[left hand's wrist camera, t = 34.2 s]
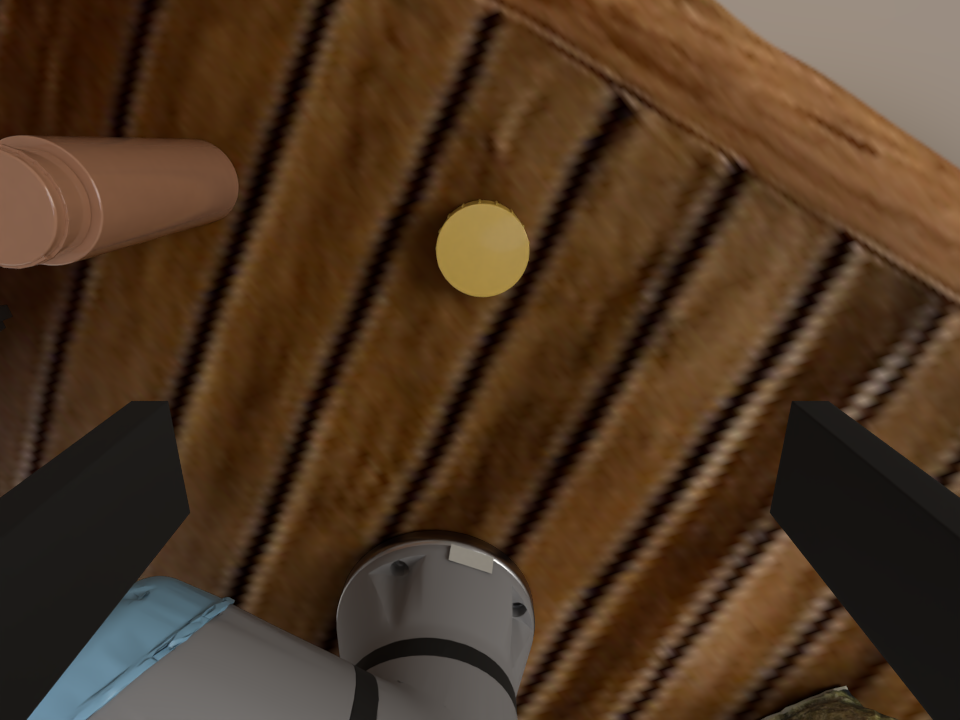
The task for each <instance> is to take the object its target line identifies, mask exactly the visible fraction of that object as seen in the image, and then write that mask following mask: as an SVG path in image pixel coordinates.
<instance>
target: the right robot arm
mask: <svg viewBox="0 0 960 720" xmlns="http://www.w3.org/2000/svg"><path fill="white" fill-rule="evenodd" d="M11 317H13V316H12V314H11V312H10V310H9V308H8V306H7V305H1V306H0V331H2V330H3V329H5V328H6V327H5V325H4V323H3V320H5V319H8V318H11Z"/></svg>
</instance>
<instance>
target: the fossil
mask: <svg viewBox="0 0 960 720" xmlns="http://www.w3.org/2000/svg"><path fill="white" fill-rule="evenodd" d="M762 720H897V719H895V718H892V717H889V716H886V715H883V714H881V713H878V712H877V711H875V710H872V709H868V708H865V707H863V706H862V705H861V704H860V702H859V701H858V700H857V699H856V698H854V697H853V696H852V695H851V694H850V692H849V690H848V688H847V687H846V686H843V687H839V688H835V689H831V690H827V691H825V692H823V693H821V694H818V695H816V696H813V697H810V698H808V699H805V700H803V701H801V702H798V703H796V704H794V705H791V706H788V707H785V708H784V709H783V710H782V711H781V712H779V713H776V714H773V715H770V716H767V717H765V718H763V719H762Z"/></svg>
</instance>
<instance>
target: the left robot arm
mask: <svg viewBox="0 0 960 720" xmlns="http://www.w3.org/2000/svg"><path fill="white" fill-rule="evenodd" d="M189 513H190V510H189V505H188V500H187V495H186V490H185V485H184V480H183V475H182V470H181V464H180V459H179V454H178V449H177V444H176V439H175V434H174V429H173V424H172V419H171V414H170V409H169V404H168V401H131V402H130V403H128V404H127V405H126V406H124V407H123V408H122V409H120V410H119V411H118V412H116V413H115V414H113V415H112V416H111V417H109V418H108V419H107V420H105V421H104V422H103V423H101V424H100V425H99V426H97V427H96V428H94V429H93V430H92V431H90V432H89V433H88V434H86V435H85V436H84V437H82V438H81V439H79V440H78V441H77V442H75V443H74V444H73V445H71V446H70V447H69V448H67V449H66V450H65V451H63V452H62V453H60V454H59V455H58V456H56V457H55V458H54V459H52V460H51V461H50V462H48V463H47V464H45V465H44V466H43V467H41V468H40V469H39V470H37V471H36V472H35V473H33V474H32V475H31V476H29V477H28V478H26V479H25V480H24V481H22V482H21V483H20V484H18V485H17V486H16V487H14V488H13V489H12V490H10V491H9V492H7V493H6V494H5V495H3V496H2V497H1V498H0V720H517V709H516V695H517V692H518V688H519V685H520V682H521V679H522V675H523V672H524V669H525V665H526V662H527V659H528V655H529V652H530V649H531V645H532V641H533V636H534V629H535V618H534V609H533V601H532V595H531V591H530V588H529V585H528V583H527V581H526V579H525V577H524V575H523V574H522V572H521V571H520V569H519V568H518V567H517V566H516V564H515V563H514V562H513V561H512V560H511V559H510V558H509V557H508V556H507V555H505V554H504V553H503V552H502V551H500V550H499V549H497V548H496V547H494V546H492V545H491V544H489V543H487V542H485V541H483V540H480V539H478V538H475V537H472V536H469V535H466V534H461V533H457V532H450V531H438V530H434V531H419V532H413V533H408V534H404V535H401V536H397V537H395V538H392V539H390V540H388V541H386V542H383V543H381V544H380V545H378V546H377V547H375V548H373V549H372V550H371V551H369V552H368V553H367V554H366V555H365V556H363V557H362V558H361V559H360V560H359V562H358V563H357V564H356V565H355V566H354V568H353V569H352V571H351V572H350V574H349V576H348V578H347V580H346V582H345V585H344V588H343V591H342V594H341V598H340V601H339V605H338V609H337V636H338V644H339V653H340V657H338V656H336V655H334V654H332V653H330V652H328V651H326V650H323V649H321V648H319V647H317V646H315V645H313V644H311V643H309V642H307V641H305V640H303V639H301V638H299V637H297V636H295V635H293V634H290V633H288V632H286V631H284V630H282V629H280V628H278V627H276V626H274V625H272V624H270V623H268V622H266V621H264V620H262V619H260V618H258V617H256V616H254V615H252V614H250V613H248V612H246V611H244V610H243V609H241V608H239V607H237V606H235V605H233V603H234V601H235V600H233V599H231V598H229V597H225V598H220V597H217V596H215V595H213V594H210V593H208V592H206V591H203V590H201V589H199V588H196V587H194V586H192V585H189V584H187V583H185V582H182V581H180V580H178V579H175V578H171V577H166V576H154V577H149V578H145V579H142V580H140V581H137V579H138V578H139V577H140V576H141V574H142V573H143V572H144V571H145V569H146V568H147V567H148V565H149V564H150V563H151V562H152V560H153V559H154V558H155V557H156V555H157V554H158V553H159V551H160V550H161V549H162V548H163V546H164V545H165V544H166V543H167V541H168V540H169V539H170V538H171V536H172V535H173V534H174V532H175V531H176V530H177V529H178V527H179V526H180V525H181V524H182V522H183V521H184V520H185V518H186V517H187V516H188V515H189ZM770 513H771V515H772V516H773V517H774V518H775V520H776V521H777V522H778V524H779V525H780V526H781V527H782V529H783V530H784V531H785V532H786V534H787V535H788V536H789V538H790V539H791V540H792V541H793V543H794V544H795V545H796V546H797V548H798V549H799V550H800V551H801V553H802V554H803V555H804V557H805V558H806V559H807V560H808V562H809V563H810V564H811V565H812V567H813V568H814V569H815V571H816V572H817V573H818V574H819V576H820V577H821V578H822V579H823V581H824V582H825V583H826V584H827V586H828V587H829V588H830V590H831V591H832V592H833V593H834V595H835V596H836V597H837V598H838V600H839V601H840V602H841V603H842V605H843V606H844V607H845V609H846V610H847V611H848V612H849V614H850V615H851V616H852V617H853V619H854V620H855V621H856V623H857V624H858V625H859V626H860V628H861V629H862V630H863V631H864V633H865V634H866V635H867V636H868V638H869V639H870V640H871V642H872V643H873V644H874V645H875V647H876V648H877V649H878V650H879V652H880V653H881V654H882V656H883V657H884V658H885V659H886V661H887V662H888V663H889V664H890V666H891V667H892V668H893V669H894V671H895V672H896V673H897V675H898V676H899V677H900V678H901V680H902V681H903V682H904V683H905V685H906V686H907V687H908V689H909V690H910V691H911V692H912V694H913V695H914V696H915V697H916V699H917V700H918V701H919V702H920V704H921V705H922V706H923V708H924V709H925V710H926V711H927V713H928V714H929V715H930V716H931V718H932V719H933V720H960V498H959V497H958V496H957V495H955V494H954V493H953V492H951V491H950V490H948V489H947V488H946V487H944V486H943V485H942V484H940V483H939V482H938V481H936V480H935V479H934V478H932V477H931V476H929V475H928V474H927V473H925V472H924V471H923V470H921V469H920V468H919V467H917V466H916V465H915V464H913V463H912V462H910V461H909V460H908V459H906V458H905V457H904V456H902V455H901V454H900V453H898V452H897V451H895V450H894V449H893V448H891V447H890V446H889V445H887V444H886V443H885V442H883V441H882V440H881V439H879V438H878V437H876V436H875V435H874V434H872V433H871V432H870V431H868V430H867V429H866V428H864V427H863V426H861V425H860V424H859V423H857V422H856V421H855V420H853V419H852V418H851V417H849V416H848V415H847V414H845V413H844V412H842V411H841V410H840V409H838V408H837V407H836V406H834V405H833V404H832V403H830V402H829V401H792V404H791V409H790V414H789V419H788V424H787V429H786V434H785V439H784V444H783V449H782V454H781V459H780V464H779V470H778V475H777V480H776V485H775V490H774V495H773V500H772V505H771V510H770ZM136 581H137V582H136Z"/></svg>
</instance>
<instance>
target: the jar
mask: <svg viewBox="0 0 960 720" xmlns="http://www.w3.org/2000/svg"><path fill="white" fill-rule="evenodd" d="M238 191H239V185H238V178H237V174H236V171H235V169H234V167H233V165H232V163H231V162H230V160H229V159H228V157H227V156H226V155H225V154H224V153H223V152H222V151H221V150H220V149H218V148H217V147H216V146H214V145H212V144H210V143H208V142H206V141H203V140H198V139H176V138H128V137H80V136H32V135H17V136H10V137H7V138H3V139H1V140H0V266H1V267H3V268H17V269H21V268H26V267H31V266H35V265H38V264H43V265H53V266H58V265H66V264H70V263H74V262H77V261H81V260H84V259H87V258H91V257H94V256H98V255H101V254H105V253H108V252H112V251H115V250H119V249H122V248H125V247H129V246H132V245H136V244H139V243H143V242H146V241H150V240H153V239H157V238H160V237H163V236H167V235H170V234H174V233H177V232H181V231H184V230H188V229H191V228H195V227H198V226H201V225H205V224H208V223H212V222H215V221H218V220H220V219H222V218H224V217H225V216H226V215H227V214H229V212H230V211H231V210H232V209H233V207H234V205H235V203H236V201H237V197H238Z"/></svg>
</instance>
